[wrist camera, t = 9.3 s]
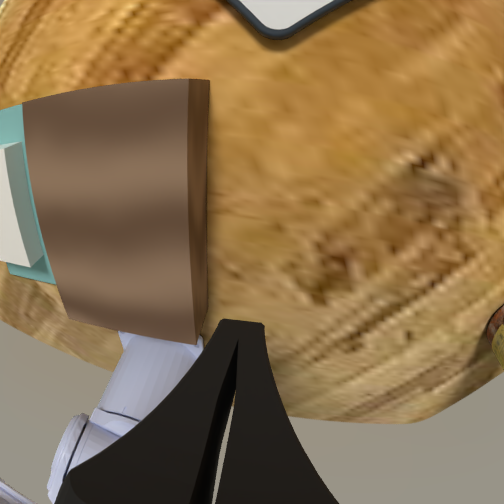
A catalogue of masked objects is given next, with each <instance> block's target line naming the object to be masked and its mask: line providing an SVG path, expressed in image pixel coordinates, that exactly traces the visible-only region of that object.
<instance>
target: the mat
mask: <svg viewBox="0 0 504 504" xmlns="http://www.w3.org/2000/svg"><path fill="white" fill-rule="evenodd" d="M21 141H22V149H23V158H24V165H25V172H26V178H27V184H28V190H29V196H30V201H31V206H32V210H33V215H34V219H35V224H36V228H37V232H38V236H39V240H40V244H41V247H42V251H43V254H44V255H43V256H42V257H41V258H40V259H39V260H38V261H37V262H36V263H35V264H34V265H33V266H32V267H26V266H22V265H17V264H13V263H9V262H6V263H7V266H8V269H9V272H10V274H13V275H17V276H22V277H26V278H30V279H34V280H38V281H43V282H47V283H52V284H56V282H55V279H54V276H53V273H52V269H51V266H50V263H49V260H48V256H47V253H46V249H45V245H44V242H43V238H42V234H41V230H40V226H39V222H38V218H37V213H36V208H35V204H34V199H33V194H32V188H31V182H30V176H29V170H28V163H27V156H26V147H25V138H24V127H23V112H22V104H20V105H17V106H13V107H10V108H7V109H3V110H0V145H3V144H8V143H14V142H21Z"/></svg>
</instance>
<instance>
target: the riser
mask: <svg viewBox="0 0 504 504" xmlns="http://www.w3.org/2000/svg"><path fill="white" fill-rule="evenodd" d="M208 103H209V80H202V79H169V80H153V81H141V82H131V83H122V84H114V85H106V86H99V87H93V88H87V89H81V90H76V91H70V92H65V93H61V94H56V95H51V96H47V97H43V98H39V99H35V100H31V101H27V102H23V103H22V112H23V127H24V138H25V147H26V156H27V163H28V170H29V176H30V182H31V188H32V194H33V199H34V204H35V208H36V213H37V218H38V222H39V226H40V230H41V234H42V238H43V242H44V245H45V249H46V253H47V256H48V260H49V263H50V266H51V269H52V273H53V276H54V279H55V282H56V285H57V288H58V291H59V293H60V296H61V299H62V302H63V305H64V307H65V310H66V312H67V315H68V318H69V319H72V320H75V321H79V322H83V323H87V324H91V325H95V326H100V327H104V328H108V329H112V330H117V331H122V332H126V333H131V334H136V335H141V336H146V337H151V338H156V339H162V340H167V341H173V342H179V343H185V344H191V345H197V342H198V338H199V335H200V332H201V329H202V325H203V322H204V319H205V316H206V313H207V309H208V284H207V223H206V193H207V132H208Z"/></svg>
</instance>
